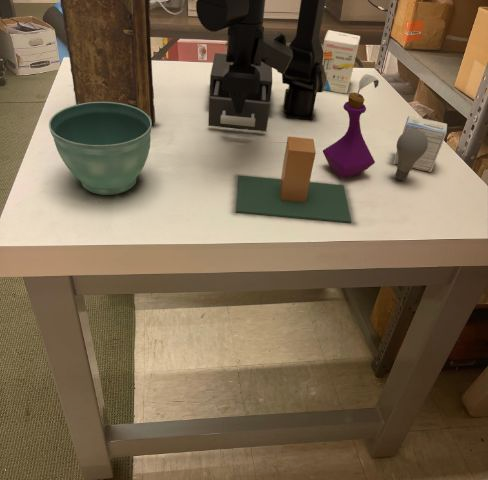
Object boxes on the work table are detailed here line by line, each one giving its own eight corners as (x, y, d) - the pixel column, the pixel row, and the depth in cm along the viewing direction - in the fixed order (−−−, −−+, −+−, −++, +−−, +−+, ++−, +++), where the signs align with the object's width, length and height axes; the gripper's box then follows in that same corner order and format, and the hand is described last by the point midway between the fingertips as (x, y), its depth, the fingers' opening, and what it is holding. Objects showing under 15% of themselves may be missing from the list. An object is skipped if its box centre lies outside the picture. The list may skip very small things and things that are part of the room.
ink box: (314, 88, 127) (323, 38, 119) (318, 77, 133) (327, 28, 125) (347, 94, 127) (359, 44, 118) (349, 82, 133) (360, 34, 124)
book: (73, 114, 105) (50, -27, 87) (95, 103, 109) (78, -33, 91) (137, 137, 100) (127, -7, 82) (157, 125, 105) (152, -14, 87)
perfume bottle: (340, 184, 94) (365, 86, 81) (318, 165, 99) (339, 70, 86) (371, 177, 97) (399, 82, 84) (348, 160, 101) (372, 66, 89)
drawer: (266, 141, 102) (269, 113, 98) (206, 135, 102) (207, 106, 97) (266, 106, 115) (269, 80, 110) (212, 100, 114) (214, 74, 110)
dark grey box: (268, 116, 113) (272, 81, 108) (209, 110, 112) (210, 75, 107) (267, 91, 123) (271, 58, 118) (213, 86, 123) (215, 52, 117)
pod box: (303, 188, 91) (313, 138, 84) (305, 202, 88) (315, 152, 81) (279, 185, 91) (287, 136, 84) (280, 200, 88) (288, 149, 81)
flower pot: (52, 205, 81) (39, 142, 73) (69, 157, 92) (58, 98, 84) (152, 208, 83) (149, 147, 75) (156, 161, 94) (153, 103, 86)
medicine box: (432, 163, 104) (448, 123, 97) (430, 173, 101) (447, 132, 94) (395, 155, 105) (408, 114, 99) (392, 164, 102) (406, 123, 96)
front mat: (343, 187, 94) (343, 185, 93) (350, 223, 85) (351, 221, 85) (238, 177, 93) (238, 175, 92) (235, 212, 84) (236, 210, 84)
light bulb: (414, 189, 95) (433, 139, 88) (385, 183, 96) (402, 134, 89) (413, 175, 99) (431, 127, 92) (386, 170, 100) (401, 121, 93)
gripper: (296, 42, 76) (282, 139, 87) (291, 9, 89) (279, 97, 100) (224, 34, 75) (219, 133, 87) (230, 2, 88) (225, 92, 99)
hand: (238, 112), depth 93 cm, fingers closed
